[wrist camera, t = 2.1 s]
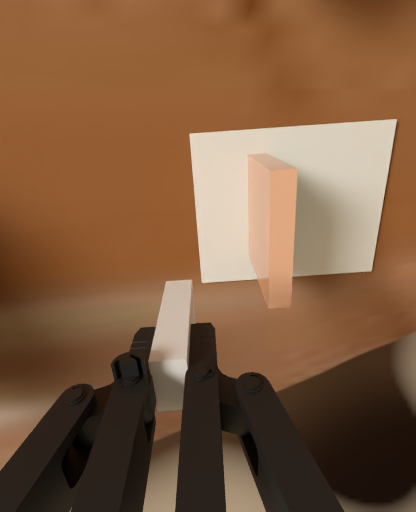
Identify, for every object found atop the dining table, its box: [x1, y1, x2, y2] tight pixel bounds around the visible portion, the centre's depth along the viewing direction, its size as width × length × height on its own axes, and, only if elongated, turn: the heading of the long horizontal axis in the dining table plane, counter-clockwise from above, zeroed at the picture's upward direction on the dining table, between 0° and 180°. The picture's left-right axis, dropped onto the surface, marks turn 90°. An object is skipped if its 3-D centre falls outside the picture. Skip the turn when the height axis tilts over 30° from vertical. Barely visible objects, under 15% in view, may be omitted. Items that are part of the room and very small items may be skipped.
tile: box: [247, 153, 298, 309], centre depth 31 cm, size 2×12×12 cm, turn 4°
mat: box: [190, 119, 397, 283], centre depth 37 cm, size 22×18×1 cm
